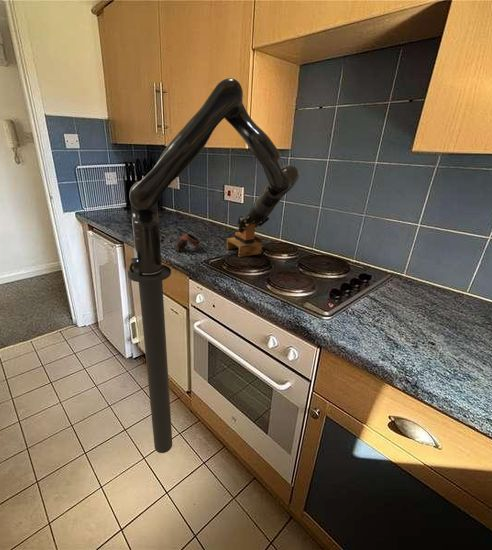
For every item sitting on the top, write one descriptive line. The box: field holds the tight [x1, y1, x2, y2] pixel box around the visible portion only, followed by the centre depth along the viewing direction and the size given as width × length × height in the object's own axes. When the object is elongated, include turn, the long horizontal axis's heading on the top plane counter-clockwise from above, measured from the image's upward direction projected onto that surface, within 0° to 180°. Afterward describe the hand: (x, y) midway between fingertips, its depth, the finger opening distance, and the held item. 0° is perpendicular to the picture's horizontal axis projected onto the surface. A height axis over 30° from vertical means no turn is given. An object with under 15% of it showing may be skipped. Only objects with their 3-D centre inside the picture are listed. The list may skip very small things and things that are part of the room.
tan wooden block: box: [226, 234, 263, 258], centre depth 133 cm, size 11×12×7 cm
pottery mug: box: [175, 233, 200, 252], centre depth 132 cm, size 12×10×8 cm
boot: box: [234, 223, 256, 244], centre depth 130 cm, size 9×5×10 cm, turn 27°
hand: (245, 230), depth 130 cm, fingers closed on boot, 4 cm apart
